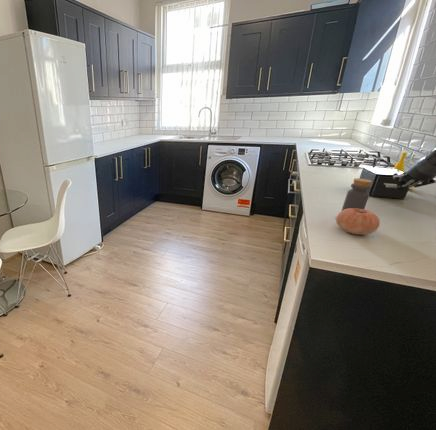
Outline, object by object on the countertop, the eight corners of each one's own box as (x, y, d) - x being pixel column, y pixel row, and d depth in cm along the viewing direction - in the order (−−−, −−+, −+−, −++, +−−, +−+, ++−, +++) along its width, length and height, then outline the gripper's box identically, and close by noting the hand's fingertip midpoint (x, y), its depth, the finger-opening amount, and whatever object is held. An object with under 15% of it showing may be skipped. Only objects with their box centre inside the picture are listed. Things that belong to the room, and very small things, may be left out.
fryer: (404, 199, 122) (413, 176, 118) (368, 195, 126) (376, 173, 122) (388, 189, 134) (396, 169, 130) (356, 187, 138) (363, 167, 135)
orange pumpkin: (383, 240, 86) (393, 216, 83) (344, 238, 88) (352, 214, 85) (361, 226, 96) (369, 204, 93) (326, 224, 97) (333, 202, 94)
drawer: (410, 201, 116) (418, 181, 113) (376, 197, 120) (383, 179, 117) (390, 189, 132) (397, 172, 128) (360, 186, 136) (366, 170, 132)
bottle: (335, 216, 103) (348, 177, 98) (353, 218, 102) (367, 178, 97) (344, 223, 98) (358, 181, 93) (363, 224, 97) (378, 182, 91)
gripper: (406, 173, 101) (379, 195, 116) (456, 176, 96) (421, 199, 111) (405, 155, 103) (378, 180, 118) (453, 158, 99) (419, 183, 114)
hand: (399, 189), depth 115 cm, fingers closed
